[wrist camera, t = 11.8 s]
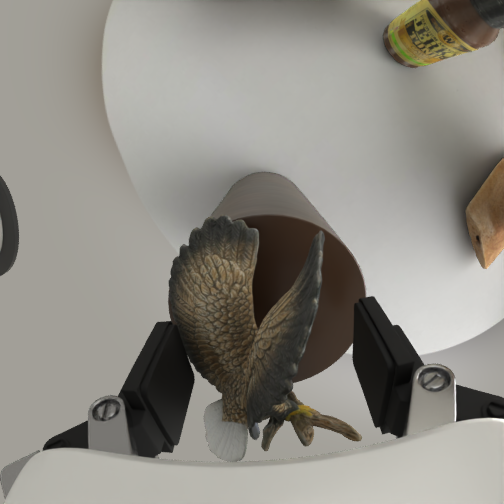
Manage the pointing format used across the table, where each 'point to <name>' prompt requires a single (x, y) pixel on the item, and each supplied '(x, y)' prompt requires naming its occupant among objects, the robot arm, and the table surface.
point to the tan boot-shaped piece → (488, 217)
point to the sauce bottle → (442, 30)
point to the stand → (296, 263)
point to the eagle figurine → (245, 337)
